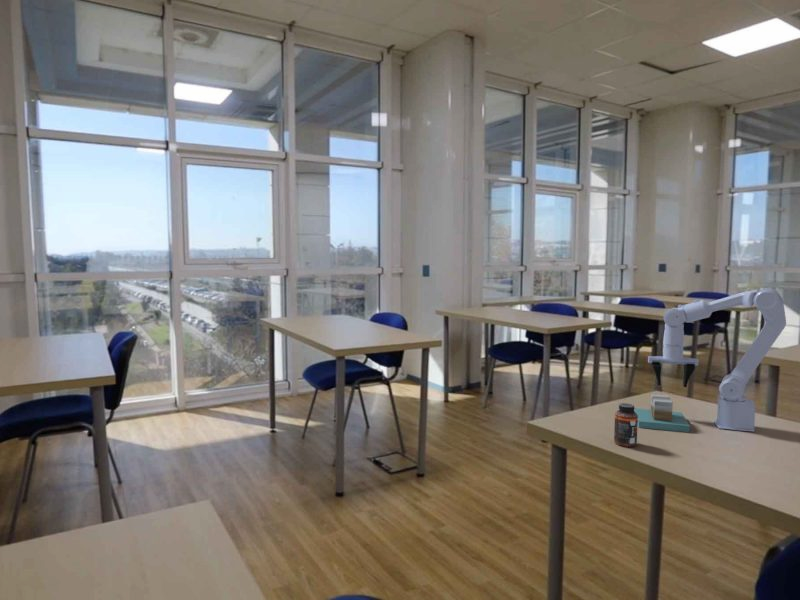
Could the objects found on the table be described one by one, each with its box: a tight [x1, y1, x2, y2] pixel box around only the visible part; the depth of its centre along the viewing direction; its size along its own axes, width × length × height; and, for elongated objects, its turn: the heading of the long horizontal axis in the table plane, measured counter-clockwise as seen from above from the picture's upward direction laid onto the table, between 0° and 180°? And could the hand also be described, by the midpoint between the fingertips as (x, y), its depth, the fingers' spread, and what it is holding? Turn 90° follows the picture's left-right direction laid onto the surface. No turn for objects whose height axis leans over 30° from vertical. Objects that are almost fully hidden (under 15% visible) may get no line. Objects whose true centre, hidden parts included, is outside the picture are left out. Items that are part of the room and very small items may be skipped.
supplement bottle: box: [613, 402, 638, 448], centre depth 147 cm, size 6×6×11 cm
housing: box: [650, 393, 673, 421], centre depth 164 cm, size 8×5×6 cm, turn 161°
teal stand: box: [634, 407, 691, 433], centre depth 165 cm, size 14×14×2 cm
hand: (671, 385), depth 170 cm, fingers open, 7 cm apart
